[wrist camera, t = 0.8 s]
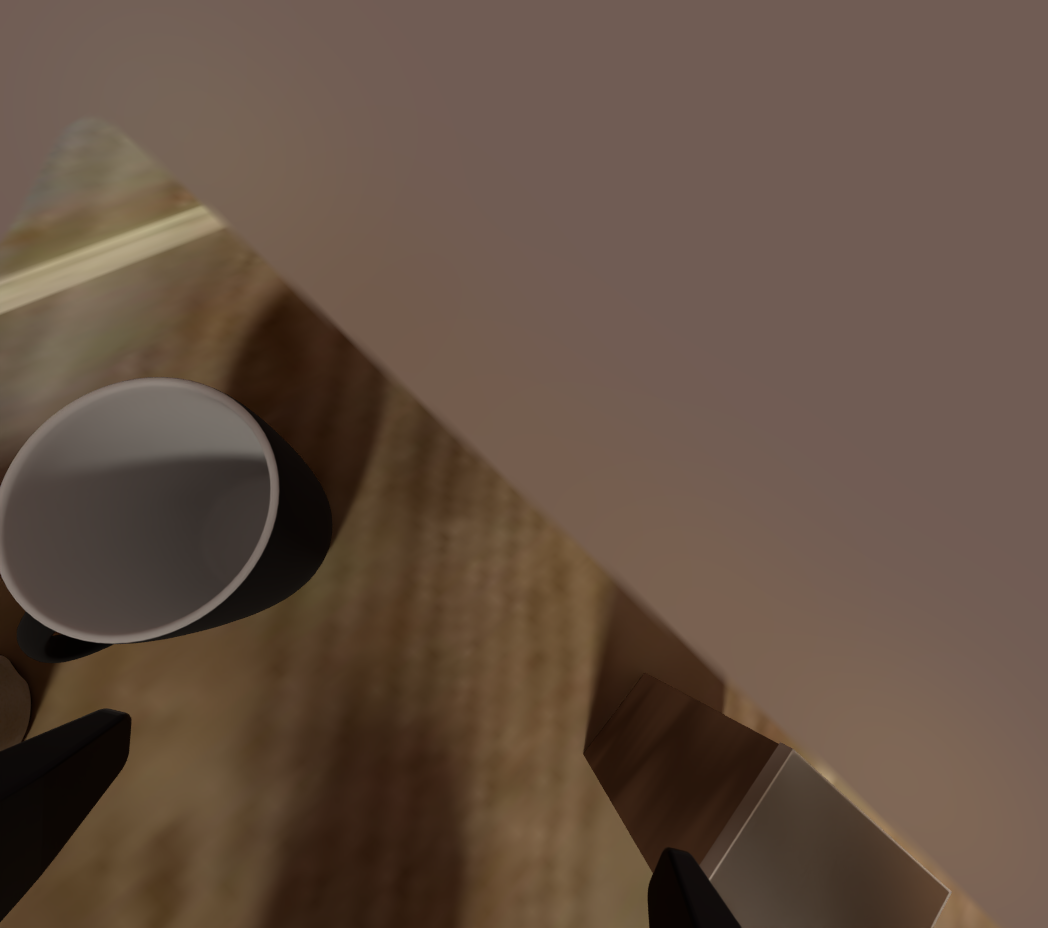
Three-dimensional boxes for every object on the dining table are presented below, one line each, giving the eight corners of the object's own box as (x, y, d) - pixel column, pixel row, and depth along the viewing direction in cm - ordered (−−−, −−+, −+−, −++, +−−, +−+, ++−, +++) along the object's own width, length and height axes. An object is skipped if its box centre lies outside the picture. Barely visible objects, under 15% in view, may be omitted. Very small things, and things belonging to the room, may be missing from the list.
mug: (282, 418, 28) (171, 326, 18) (391, 535, 27) (335, 504, 17) (87, 574, 25) (-167, 565, 15) (199, 710, 24) (2, 794, 14)
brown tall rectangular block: (661, 830, 24) (848, 1088, 12) (581, 754, 25) (679, 923, 12) (722, 742, 26) (951, 891, 13) (644, 671, 26) (792, 748, 13)
